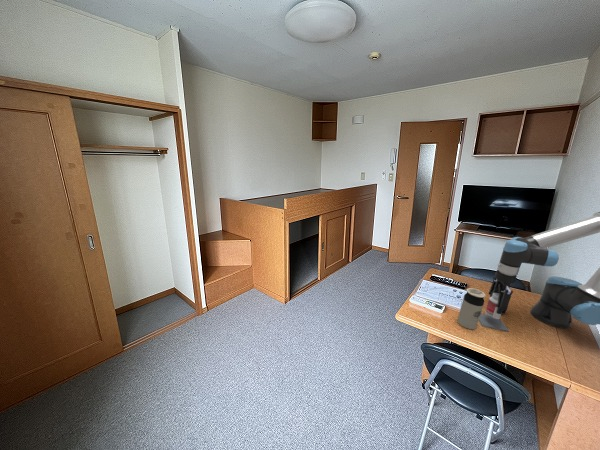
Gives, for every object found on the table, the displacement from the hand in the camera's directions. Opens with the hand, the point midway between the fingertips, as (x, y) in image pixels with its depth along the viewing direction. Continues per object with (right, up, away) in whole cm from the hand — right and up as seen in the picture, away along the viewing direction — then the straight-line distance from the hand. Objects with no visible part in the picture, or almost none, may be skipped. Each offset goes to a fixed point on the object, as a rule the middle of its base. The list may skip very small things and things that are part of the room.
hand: (492, 313), depth 121 cm
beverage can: (+11, -3, +10) cm, 15 cm away
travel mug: (-14, -5, -1) cm, 15 cm away
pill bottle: (0, -1, 0) cm, 1 cm away
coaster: (0, -5, +1) cm, 5 cm away
